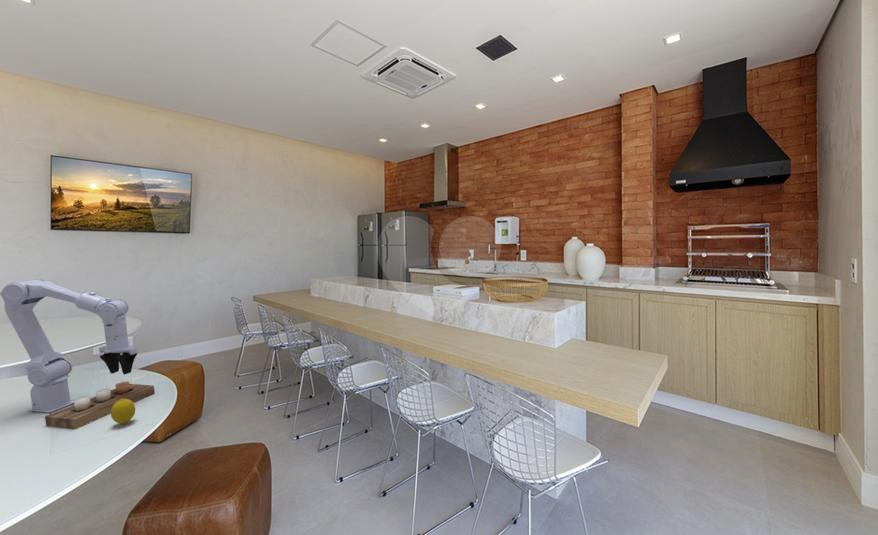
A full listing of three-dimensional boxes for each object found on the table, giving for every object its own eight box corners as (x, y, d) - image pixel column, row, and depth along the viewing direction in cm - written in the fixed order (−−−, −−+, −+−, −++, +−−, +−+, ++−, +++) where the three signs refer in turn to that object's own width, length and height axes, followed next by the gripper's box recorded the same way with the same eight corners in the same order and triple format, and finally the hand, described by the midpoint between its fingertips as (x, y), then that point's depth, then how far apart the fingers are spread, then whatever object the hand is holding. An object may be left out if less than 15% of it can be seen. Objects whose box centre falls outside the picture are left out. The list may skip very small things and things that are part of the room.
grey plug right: (71, 410, 112) (70, 401, 111) (85, 405, 115) (84, 396, 115) (80, 411, 111) (79, 402, 111) (93, 406, 114) (92, 397, 114)
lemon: (122, 429, 105) (119, 403, 104) (107, 427, 106) (104, 402, 106) (141, 419, 111) (138, 395, 110) (127, 418, 112) (124, 394, 111)
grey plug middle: (93, 401, 117) (92, 393, 117) (105, 396, 121) (104, 388, 121) (102, 402, 117) (101, 393, 116) (114, 397, 120) (113, 389, 120)
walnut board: (46, 425, 109) (44, 416, 108) (128, 391, 132) (128, 383, 132) (75, 429, 106) (74, 419, 106) (154, 393, 130) (153, 385, 129)
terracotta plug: (113, 393, 123) (112, 385, 123) (124, 389, 127) (123, 381, 127) (121, 394, 123) (120, 386, 122) (132, 389, 126) (131, 381, 126)
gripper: (86, 337, 120) (91, 376, 122) (120, 339, 117) (125, 378, 119) (110, 332, 127) (114, 368, 128) (142, 333, 124) (146, 370, 125)
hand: (121, 372), depth 124 cm, fingers open, 5 cm apart
